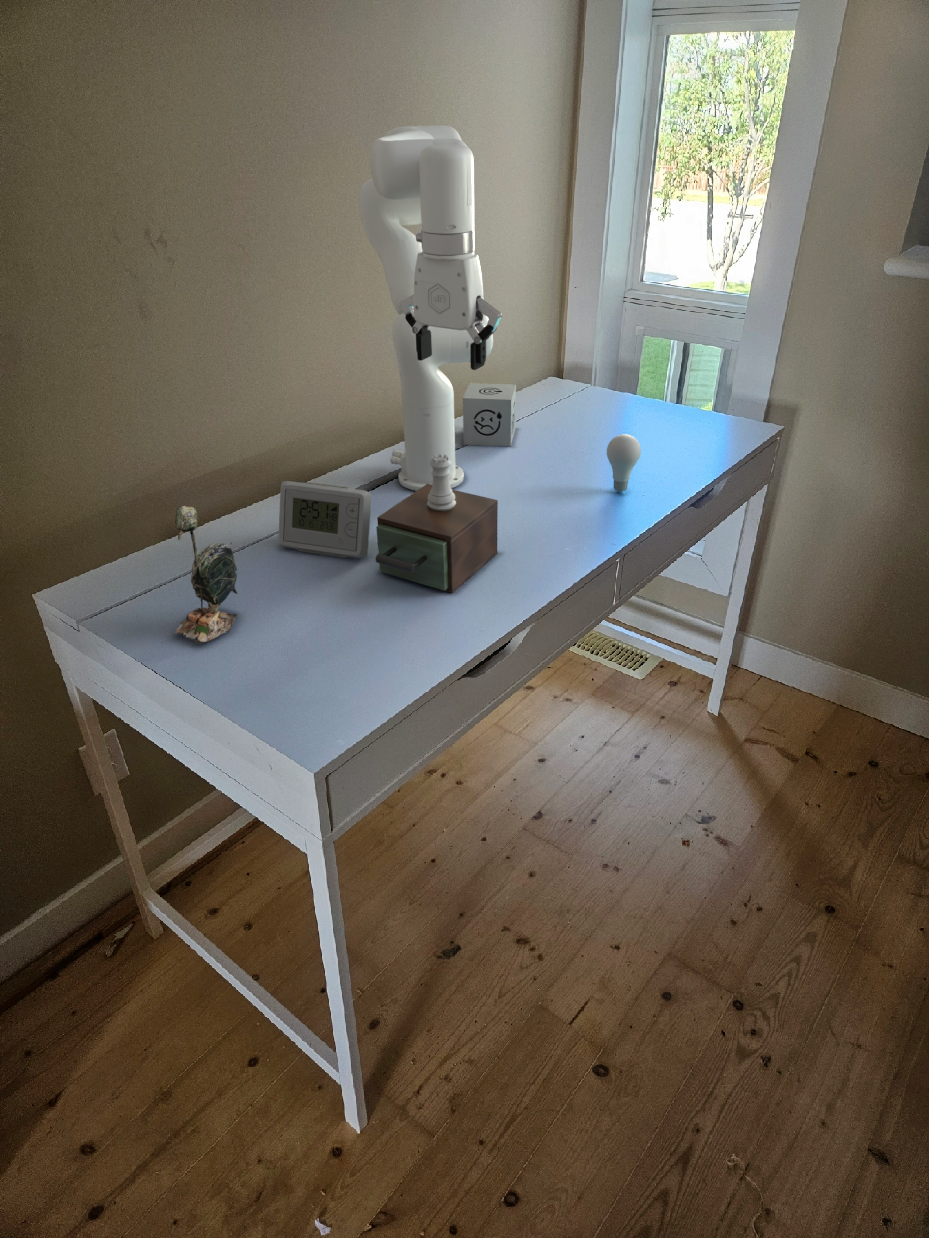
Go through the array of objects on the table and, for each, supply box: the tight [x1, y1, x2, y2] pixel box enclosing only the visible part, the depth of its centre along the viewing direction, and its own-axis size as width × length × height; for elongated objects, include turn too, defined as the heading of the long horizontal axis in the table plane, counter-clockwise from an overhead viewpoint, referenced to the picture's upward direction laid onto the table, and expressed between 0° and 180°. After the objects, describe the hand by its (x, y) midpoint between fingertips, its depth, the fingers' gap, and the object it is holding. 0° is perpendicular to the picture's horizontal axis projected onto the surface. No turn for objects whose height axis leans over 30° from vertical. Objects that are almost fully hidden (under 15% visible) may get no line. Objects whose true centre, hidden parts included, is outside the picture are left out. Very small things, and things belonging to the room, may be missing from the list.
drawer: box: [375, 524, 449, 592], centre depth 127 cm, size 17×12×8 cm
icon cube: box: [462, 382, 517, 447], centre depth 176 cm, size 10×10×10 cm
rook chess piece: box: [427, 454, 456, 511], centre depth 126 cm, size 4×4×8 cm
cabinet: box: [376, 484, 499, 594], centre depth 130 cm, size 14×13×10 cm
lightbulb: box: [606, 433, 642, 493], centre depth 151 cm, size 6×6×11 cm
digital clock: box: [278, 480, 372, 559], centre depth 135 cm, size 16×9×11 cm, turn 60°
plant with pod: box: [174, 505, 239, 645], centre depth 113 cm, size 8×11×20 cm
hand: (450, 362), depth 129 cm, fingers open, 9 cm apart
